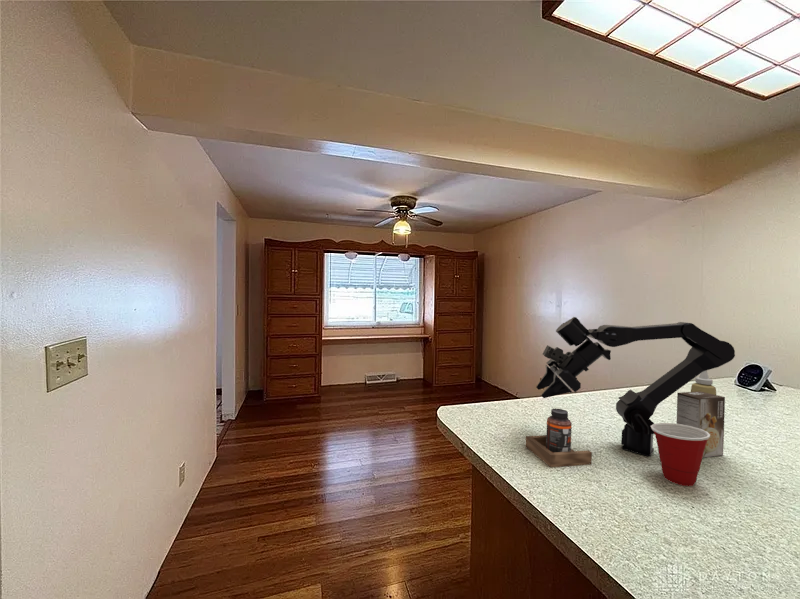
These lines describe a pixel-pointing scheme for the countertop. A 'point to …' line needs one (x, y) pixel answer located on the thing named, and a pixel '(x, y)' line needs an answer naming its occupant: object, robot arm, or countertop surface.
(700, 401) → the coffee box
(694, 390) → the squeeze bottle
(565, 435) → the supplement bottle
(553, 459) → the tray
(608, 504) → the countertop surface
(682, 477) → the plastic cup
